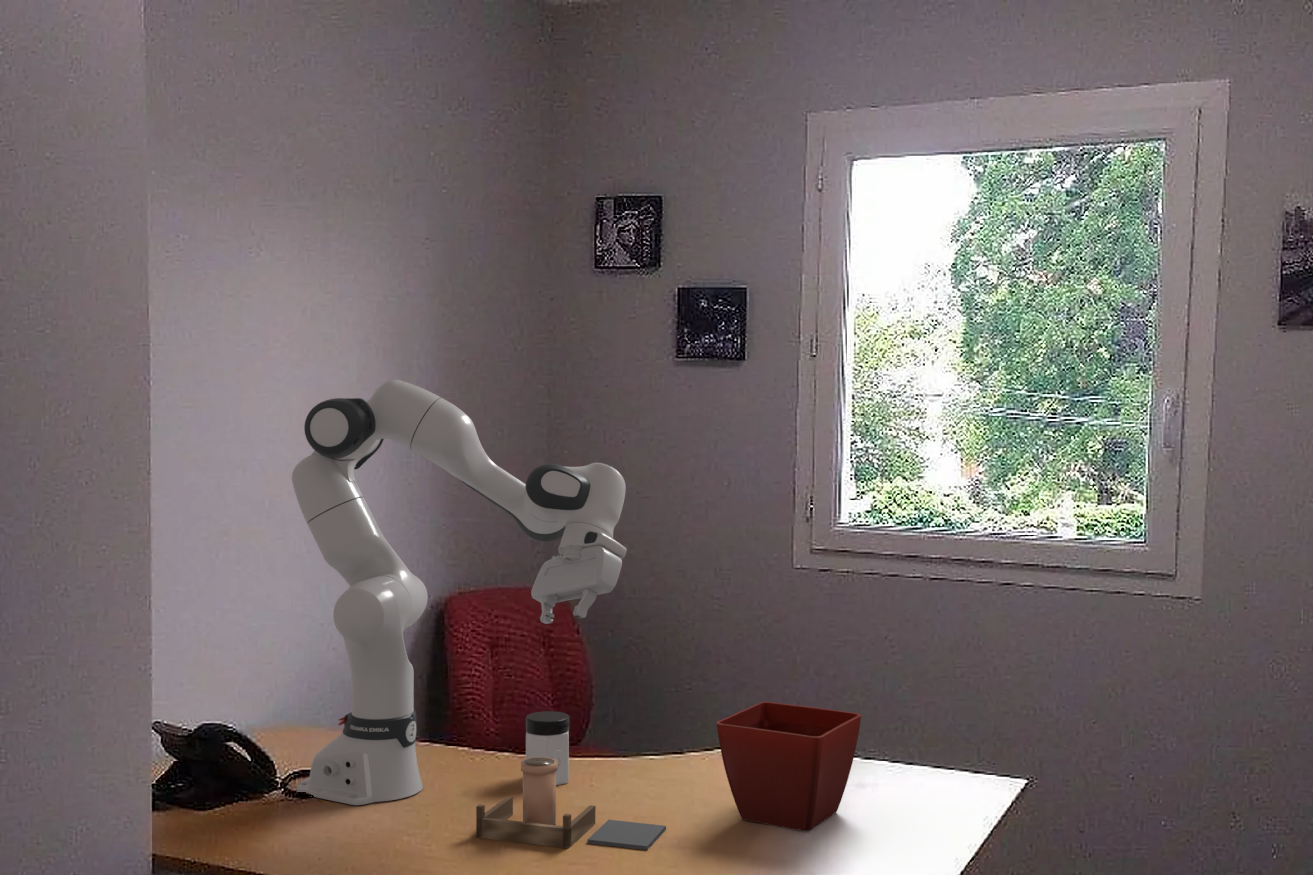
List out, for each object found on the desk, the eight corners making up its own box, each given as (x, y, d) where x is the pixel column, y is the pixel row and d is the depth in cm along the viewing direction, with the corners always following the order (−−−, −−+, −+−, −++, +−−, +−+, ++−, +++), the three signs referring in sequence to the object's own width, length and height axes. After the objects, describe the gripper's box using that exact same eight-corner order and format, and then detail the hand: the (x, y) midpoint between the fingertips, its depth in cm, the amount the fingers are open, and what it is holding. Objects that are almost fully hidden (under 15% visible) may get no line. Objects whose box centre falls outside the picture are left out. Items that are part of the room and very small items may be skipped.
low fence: (476, 837, 193) (476, 806, 193) (507, 814, 204) (507, 784, 204) (568, 848, 188) (568, 816, 188) (595, 823, 199) (595, 793, 199)
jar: (536, 789, 218) (536, 724, 218) (516, 778, 224) (516, 715, 224) (579, 781, 223) (579, 717, 222) (558, 771, 229) (558, 708, 229)
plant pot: (763, 792, 217) (763, 699, 217) (862, 810, 207) (863, 713, 207) (713, 822, 200) (713, 722, 200) (819, 843, 191) (819, 738, 190)
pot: (515, 832, 195) (515, 765, 195) (529, 820, 201) (529, 755, 201) (549, 836, 193) (549, 768, 193) (563, 824, 199) (563, 758, 199)
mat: (587, 843, 190) (587, 839, 190) (608, 823, 200) (608, 819, 200) (647, 850, 187) (647, 846, 187) (665, 829, 197) (665, 825, 197)
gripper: (536, 549, 219) (513, 618, 212) (607, 531, 204) (584, 605, 197) (562, 564, 222) (539, 632, 215) (633, 548, 207) (612, 621, 201)
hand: (561, 619), depth 206 cm, fingers open, 8 cm apart
